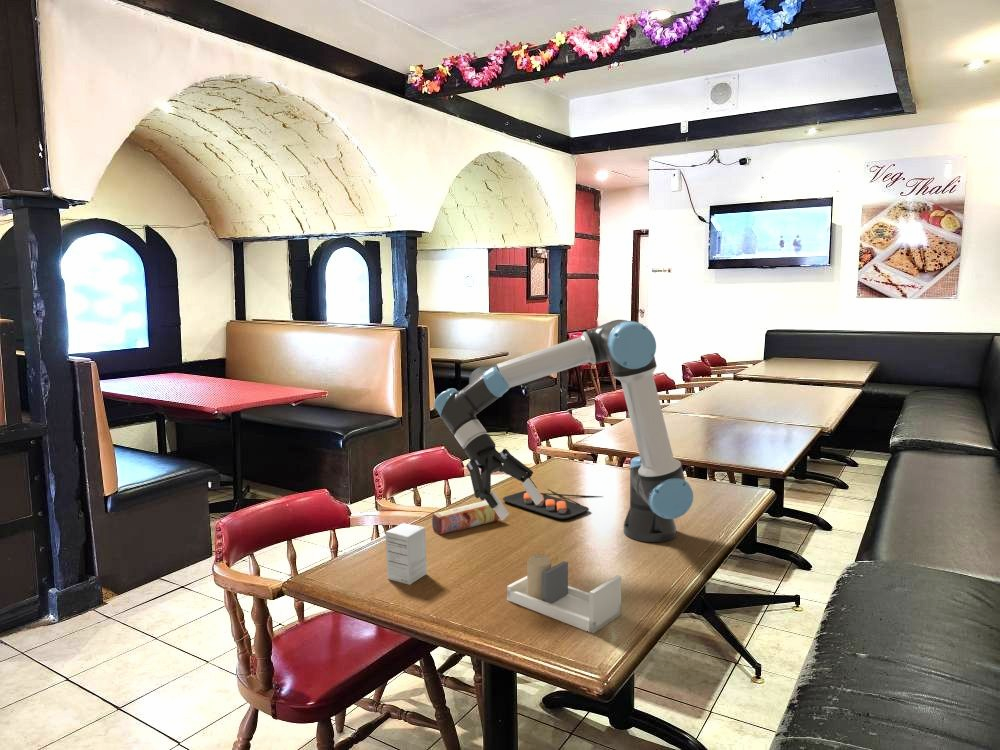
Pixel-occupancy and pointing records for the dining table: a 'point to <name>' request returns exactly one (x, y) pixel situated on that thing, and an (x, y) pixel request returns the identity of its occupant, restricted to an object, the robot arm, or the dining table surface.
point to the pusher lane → (575, 604)
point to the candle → (536, 574)
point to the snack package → (463, 517)
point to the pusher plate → (555, 582)
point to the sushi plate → (549, 504)
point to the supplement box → (406, 553)
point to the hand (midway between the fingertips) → (523, 509)
